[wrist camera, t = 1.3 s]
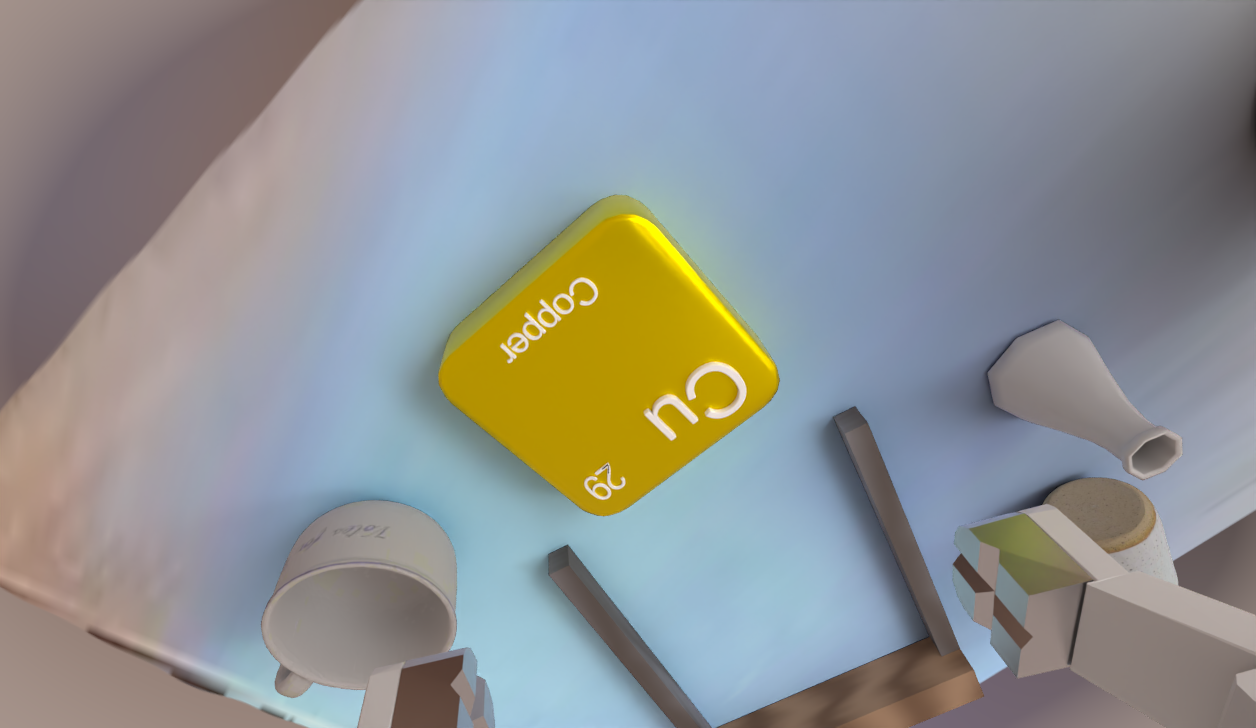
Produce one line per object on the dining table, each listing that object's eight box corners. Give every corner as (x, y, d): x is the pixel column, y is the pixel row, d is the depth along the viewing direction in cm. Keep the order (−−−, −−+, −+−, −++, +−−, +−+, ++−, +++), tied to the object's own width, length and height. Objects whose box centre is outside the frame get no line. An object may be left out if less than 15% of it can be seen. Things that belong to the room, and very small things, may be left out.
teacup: (392, 448, 43) (363, 535, 36) (499, 548, 48) (492, 642, 41) (232, 553, 45) (176, 653, 38) (349, 638, 50) (319, 741, 43)
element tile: (621, 176, 37) (631, 198, 33) (773, 353, 43) (798, 391, 39) (431, 345, 40) (418, 385, 36) (598, 486, 47) (603, 534, 43)
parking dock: (855, 406, 45) (881, 440, 42) (958, 655, 59) (984, 696, 56) (548, 554, 49) (549, 597, 45) (714, 757, 62) (725, 802, 59)
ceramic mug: (1107, 454, 50) (1193, 524, 43) (1124, 523, 54) (1206, 599, 47) (972, 516, 52) (1034, 593, 45) (997, 579, 56) (1058, 659, 49)
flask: (1014, 432, 48) (1120, 527, 39) (967, 371, 45) (1070, 459, 36) (1106, 367, 46) (1237, 452, 38) (1062, 299, 43) (1195, 374, 35)
